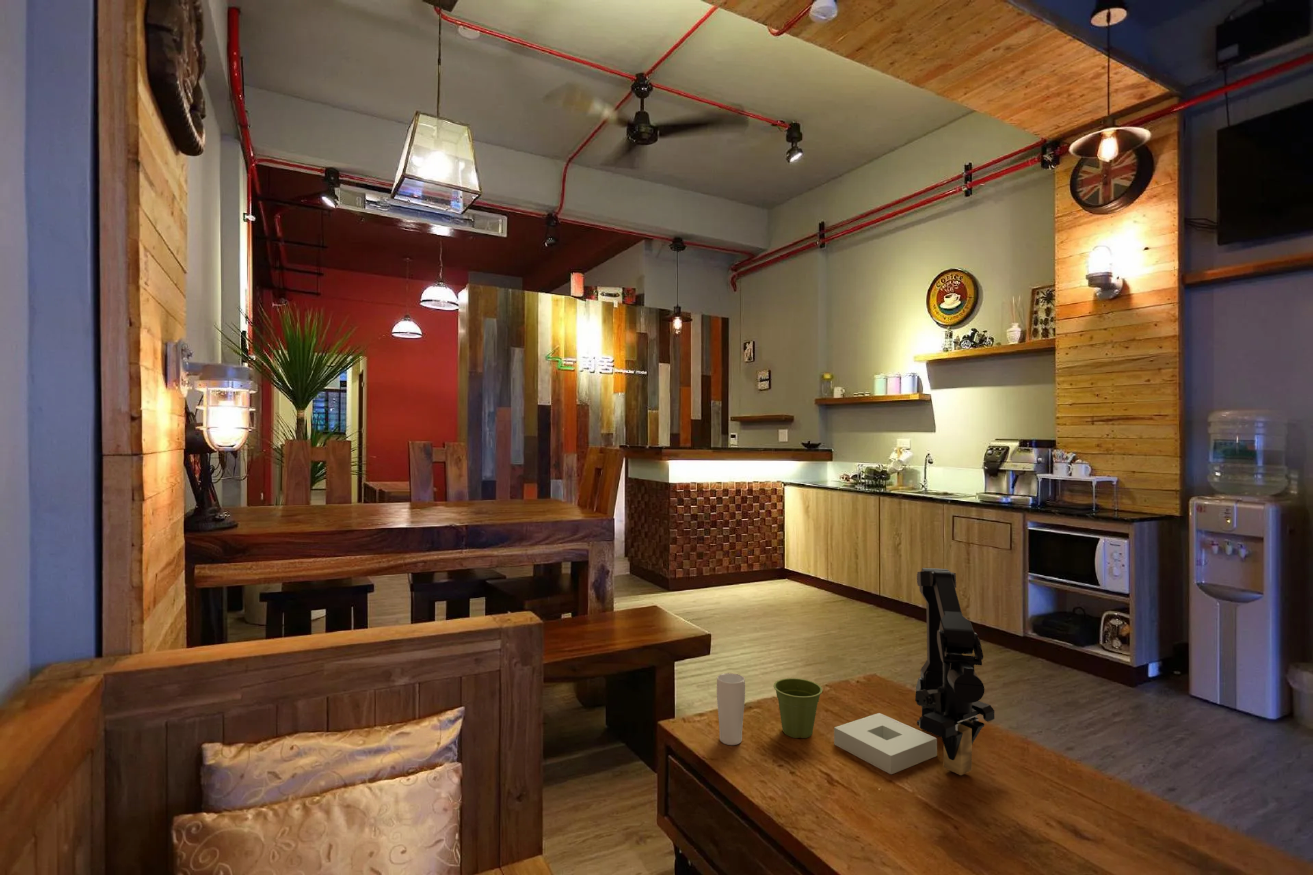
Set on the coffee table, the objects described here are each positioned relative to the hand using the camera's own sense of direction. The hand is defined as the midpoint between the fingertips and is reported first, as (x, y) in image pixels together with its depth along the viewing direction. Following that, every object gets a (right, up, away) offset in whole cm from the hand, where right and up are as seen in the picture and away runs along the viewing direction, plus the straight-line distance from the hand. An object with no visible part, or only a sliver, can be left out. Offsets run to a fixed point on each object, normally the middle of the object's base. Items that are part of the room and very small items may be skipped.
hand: (957, 756), depth 136 cm
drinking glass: (-47, -4, +14) cm, 50 cm away
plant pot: (-30, -4, +19) cm, 36 cm away
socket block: (-12, -4, +10) cm, 16 cm away
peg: (0, -3, 0) cm, 3 cm away
